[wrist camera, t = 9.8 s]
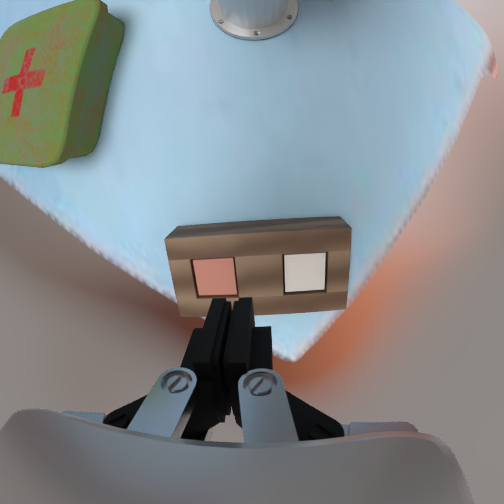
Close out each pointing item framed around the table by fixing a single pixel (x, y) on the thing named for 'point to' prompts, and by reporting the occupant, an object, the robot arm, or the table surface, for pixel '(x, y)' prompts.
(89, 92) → the first aid kit
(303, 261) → the key ivory
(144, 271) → the table surface
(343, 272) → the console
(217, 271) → the key red
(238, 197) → the table surface
